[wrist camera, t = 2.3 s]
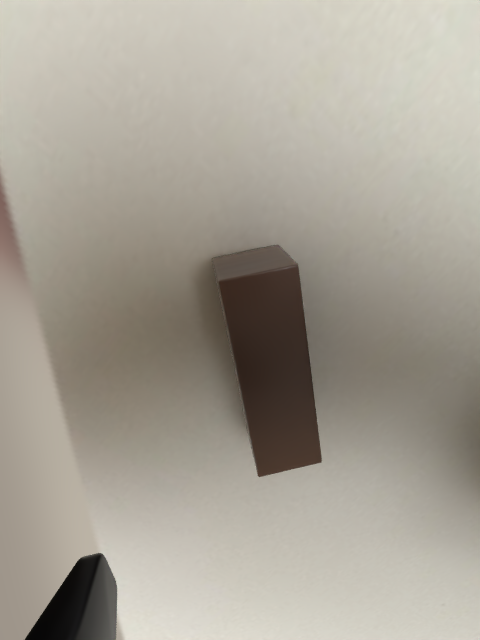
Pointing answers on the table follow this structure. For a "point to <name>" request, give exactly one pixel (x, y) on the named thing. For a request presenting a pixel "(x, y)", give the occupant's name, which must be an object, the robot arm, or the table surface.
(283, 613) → the table surface
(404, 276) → the table surface
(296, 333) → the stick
